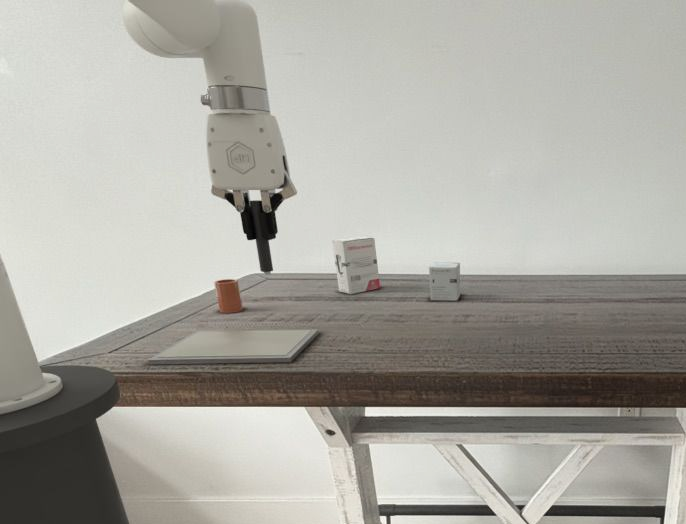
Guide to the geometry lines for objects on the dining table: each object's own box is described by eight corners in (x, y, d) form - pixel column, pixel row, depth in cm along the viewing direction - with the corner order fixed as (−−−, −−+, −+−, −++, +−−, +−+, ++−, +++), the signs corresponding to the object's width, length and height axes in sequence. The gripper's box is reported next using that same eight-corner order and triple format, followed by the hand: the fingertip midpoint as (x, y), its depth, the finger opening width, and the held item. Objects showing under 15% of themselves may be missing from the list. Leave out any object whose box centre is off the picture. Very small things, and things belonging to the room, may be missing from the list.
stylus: (271, 275, 86) (259, 201, 82) (259, 275, 86) (247, 201, 82) (275, 273, 88) (264, 200, 84) (263, 273, 88) (252, 200, 84)
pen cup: (238, 313, 111) (232, 283, 109) (216, 313, 111) (210, 283, 109) (246, 307, 115) (241, 279, 113) (225, 308, 115) (219, 279, 113)
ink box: (368, 285, 135) (363, 235, 130) (380, 288, 132) (376, 237, 127) (337, 291, 129) (330, 239, 124) (349, 294, 126) (343, 241, 121)
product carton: (430, 300, 120) (428, 266, 117) (434, 294, 126) (432, 261, 123) (458, 301, 120) (456, 266, 117) (461, 294, 126) (460, 261, 123)
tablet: (290, 362, 84) (289, 356, 83) (149, 364, 83) (147, 358, 83) (318, 333, 98) (318, 328, 97) (197, 335, 97) (196, 330, 97)
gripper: (168, 101, 74) (197, 242, 81) (288, 102, 75) (306, 242, 81) (196, 106, 81) (220, 236, 88) (306, 107, 82) (321, 236, 88)
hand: (261, 238), depth 85 cm, fingers closed on stylus, 2 cm apart
